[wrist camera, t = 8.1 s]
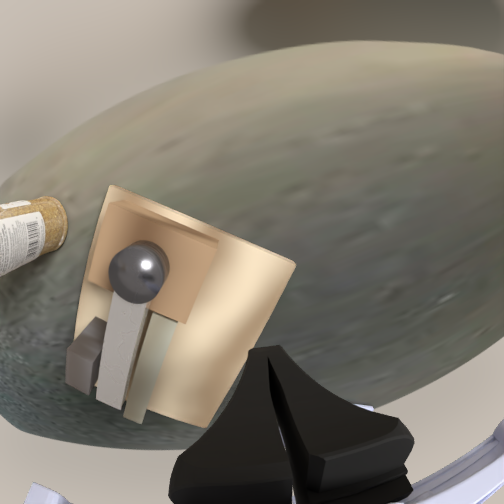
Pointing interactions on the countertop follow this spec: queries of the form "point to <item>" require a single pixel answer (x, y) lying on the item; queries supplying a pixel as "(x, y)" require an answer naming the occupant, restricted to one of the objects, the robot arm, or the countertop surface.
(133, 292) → the bar
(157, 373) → the wooden base plank
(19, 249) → the sprinkles bottle
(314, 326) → the countertop surface
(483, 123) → the countertop surface
